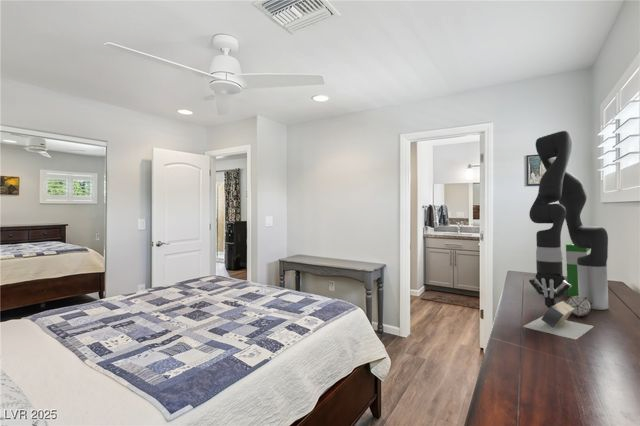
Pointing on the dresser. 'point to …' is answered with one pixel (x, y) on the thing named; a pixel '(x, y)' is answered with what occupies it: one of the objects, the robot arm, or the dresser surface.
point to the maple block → (557, 314)
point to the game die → (579, 305)
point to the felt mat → (560, 328)
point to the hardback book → (574, 266)
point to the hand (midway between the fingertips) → (550, 307)
